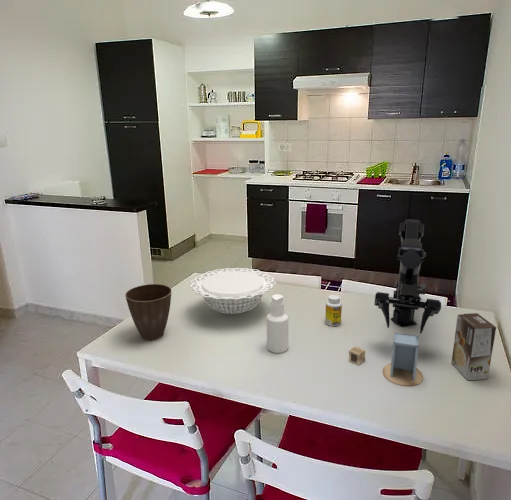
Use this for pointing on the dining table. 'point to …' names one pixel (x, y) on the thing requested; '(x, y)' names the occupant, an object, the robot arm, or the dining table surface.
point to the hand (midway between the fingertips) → (404, 330)
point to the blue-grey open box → (405, 353)
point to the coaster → (402, 376)
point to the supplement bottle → (333, 311)
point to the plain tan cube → (357, 355)
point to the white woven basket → (232, 288)
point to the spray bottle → (277, 326)
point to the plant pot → (149, 309)
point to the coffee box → (473, 346)
